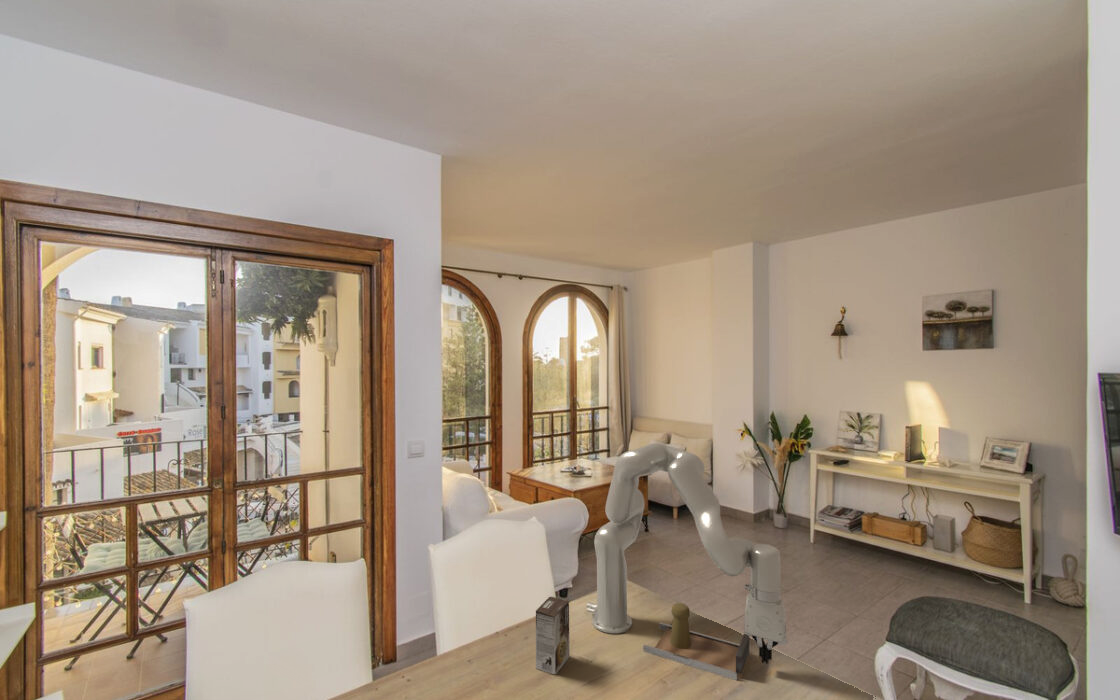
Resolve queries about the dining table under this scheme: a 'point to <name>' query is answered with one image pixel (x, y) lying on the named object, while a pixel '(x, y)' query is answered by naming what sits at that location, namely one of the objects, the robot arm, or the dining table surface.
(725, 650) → the brown tray
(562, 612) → the coffee box
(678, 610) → the cork
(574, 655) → the dining table surface
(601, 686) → the dining table surface
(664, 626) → the rails
